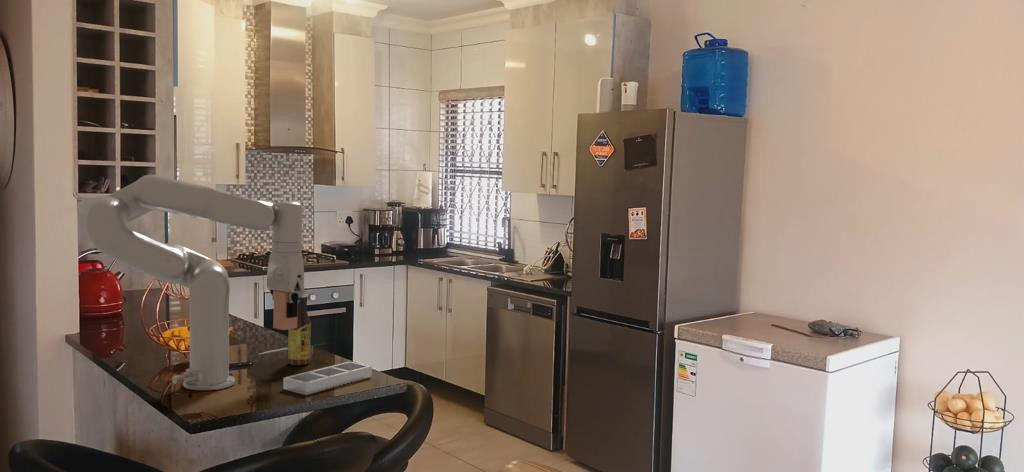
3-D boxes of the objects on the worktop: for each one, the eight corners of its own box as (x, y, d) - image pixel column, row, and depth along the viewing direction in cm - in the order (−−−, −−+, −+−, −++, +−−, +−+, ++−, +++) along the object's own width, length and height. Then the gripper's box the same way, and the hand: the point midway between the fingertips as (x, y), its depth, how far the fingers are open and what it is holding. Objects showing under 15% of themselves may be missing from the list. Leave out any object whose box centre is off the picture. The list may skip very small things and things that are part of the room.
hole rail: (306, 395, 200) (306, 383, 199) (283, 389, 204) (283, 377, 204) (371, 376, 219) (371, 366, 219) (349, 371, 224) (349, 361, 224)
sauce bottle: (303, 367, 227) (304, 298, 226) (283, 365, 229) (284, 297, 227) (314, 362, 234) (314, 295, 232) (294, 360, 235) (295, 294, 234)
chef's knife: (248, 355, 242) (253, 356, 240) (248, 351, 242) (253, 352, 240) (303, 346, 256) (308, 347, 254) (303, 342, 256) (308, 343, 254)
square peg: (284, 330, 209) (285, 292, 209) (273, 327, 212) (274, 290, 211) (297, 328, 213) (298, 291, 212) (286, 325, 215) (287, 289, 215)
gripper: (254, 246, 212) (253, 313, 214) (297, 251, 203) (295, 322, 204) (277, 244, 219) (275, 310, 220) (319, 250, 209) (317, 318, 211)
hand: (285, 315), depth 212 cm, fingers closed on square peg, 4 cm apart
